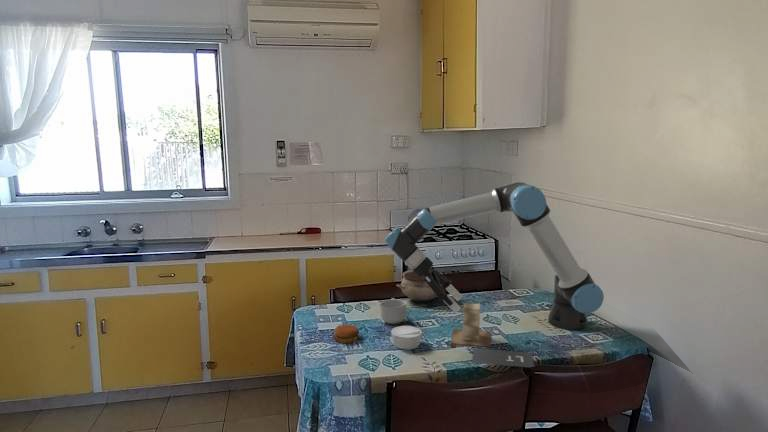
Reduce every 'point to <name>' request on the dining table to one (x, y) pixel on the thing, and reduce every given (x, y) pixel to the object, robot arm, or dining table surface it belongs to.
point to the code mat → (502, 358)
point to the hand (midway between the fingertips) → (459, 304)
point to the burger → (346, 333)
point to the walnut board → (457, 340)
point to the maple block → (471, 321)
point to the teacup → (393, 310)
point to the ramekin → (406, 337)
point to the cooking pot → (416, 287)
